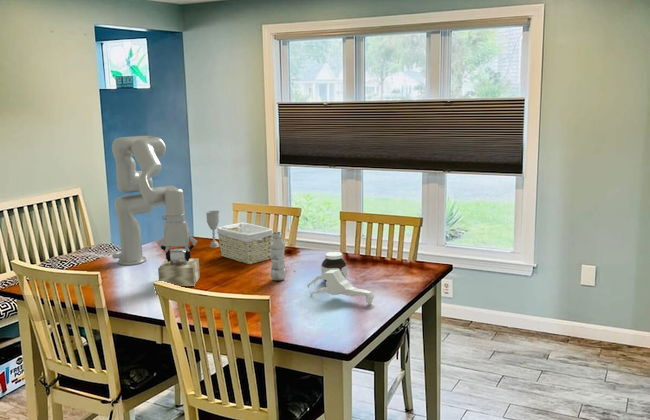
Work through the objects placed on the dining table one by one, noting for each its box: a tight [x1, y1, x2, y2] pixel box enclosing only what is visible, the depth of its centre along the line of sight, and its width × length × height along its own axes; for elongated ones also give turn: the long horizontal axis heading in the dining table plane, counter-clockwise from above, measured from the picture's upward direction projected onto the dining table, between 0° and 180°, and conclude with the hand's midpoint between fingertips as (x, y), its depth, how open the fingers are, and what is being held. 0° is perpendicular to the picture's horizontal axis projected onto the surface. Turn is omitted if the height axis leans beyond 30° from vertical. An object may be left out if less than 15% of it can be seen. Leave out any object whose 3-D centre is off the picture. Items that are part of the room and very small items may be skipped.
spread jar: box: [320, 251, 348, 283], centre depth 251 cm, size 12×11×12 cm
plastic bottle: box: [269, 231, 287, 281], centre depth 252 cm, size 6×7×20 cm
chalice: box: [204, 210, 220, 248], centre depth 312 cm, size 7×7×18 cm
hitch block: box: [157, 257, 201, 287], centre depth 254 cm, size 14×14×8 cm
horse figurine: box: [306, 270, 375, 306], centre depth 228 cm, size 5×16×25 cm
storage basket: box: [216, 222, 274, 265], centre depth 289 cm, size 24×16×15 cm
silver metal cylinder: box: [169, 248, 187, 265], centre depth 253 cm, size 7×7×12 cm
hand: (178, 260), depth 253 cm, fingers closed on silver metal cylinder, 7 cm apart
